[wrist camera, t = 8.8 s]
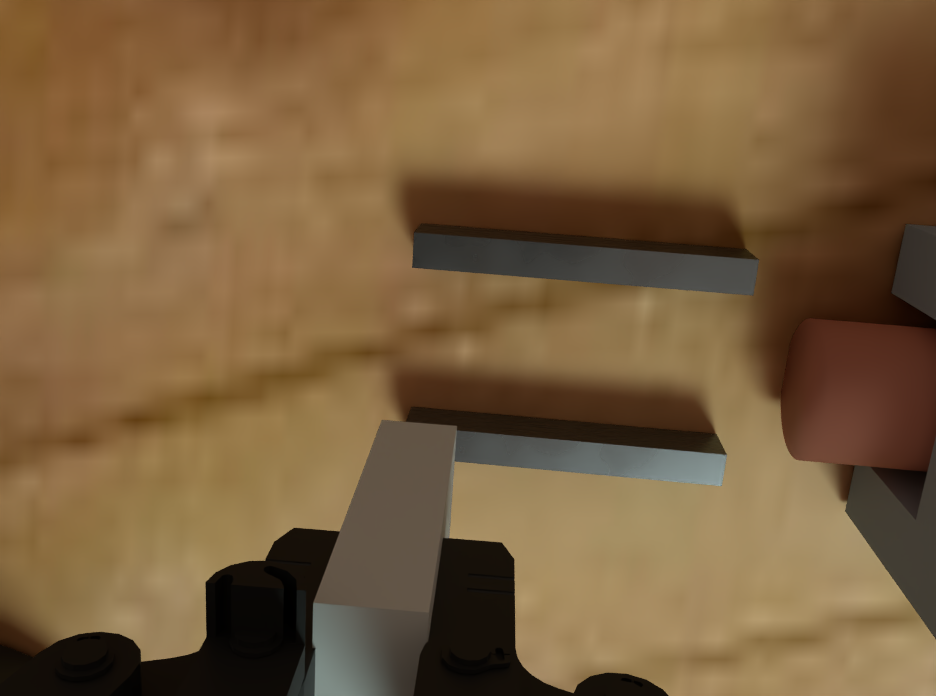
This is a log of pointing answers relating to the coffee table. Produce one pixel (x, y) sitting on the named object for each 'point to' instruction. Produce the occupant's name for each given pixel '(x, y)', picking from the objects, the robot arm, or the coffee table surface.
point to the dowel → (860, 394)
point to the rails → (586, 262)
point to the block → (905, 491)
